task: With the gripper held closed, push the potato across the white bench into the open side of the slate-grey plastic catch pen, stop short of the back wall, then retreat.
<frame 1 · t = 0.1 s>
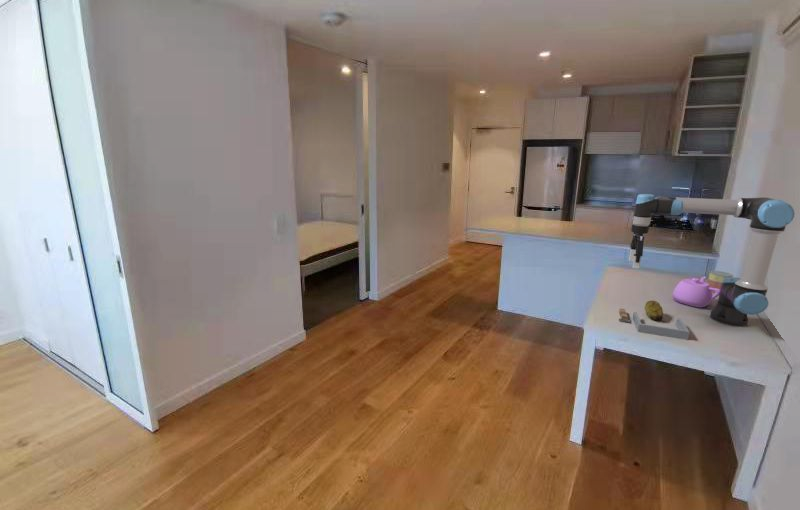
hand: (633, 264, 197), 28 cm above the table, fingers open, 13 cm apart
canned food: (716, 291, 239), on the table
teapot: (690, 303, 220), on the table
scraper: (623, 317, 199), on the table
catch pen: (658, 328, 187), on the table
potato: (652, 317, 200), on the table
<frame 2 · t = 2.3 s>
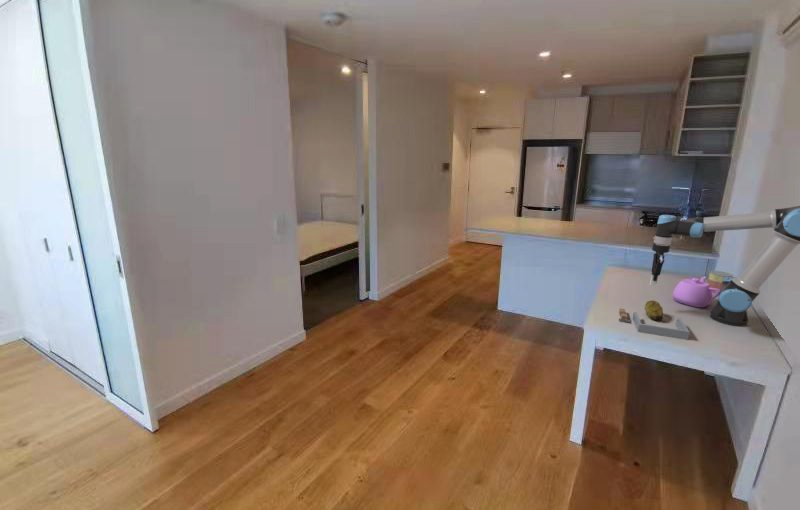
hand: (652, 285, 205), 14 cm above the table, fingers closed
nothing on the table moved.
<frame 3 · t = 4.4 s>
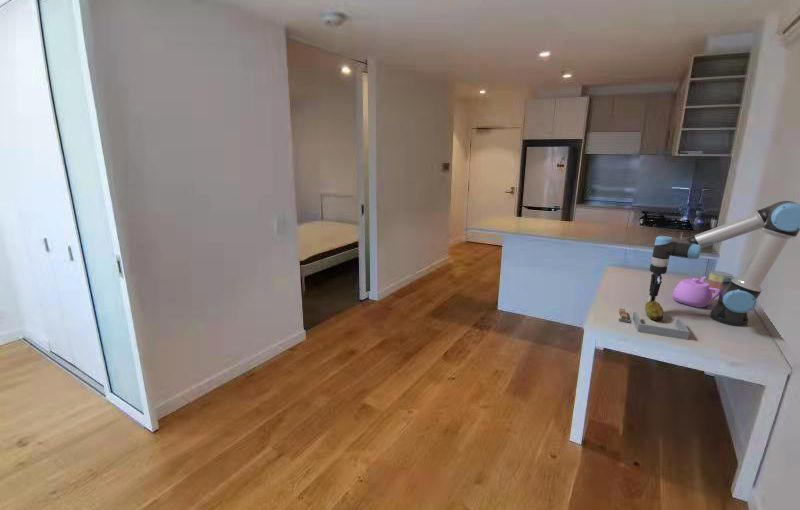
hand: (650, 306, 206), 3 cm above the table, fingers closed
potato: (652, 317, 199), on the table, touching gripper
everything else where it was.
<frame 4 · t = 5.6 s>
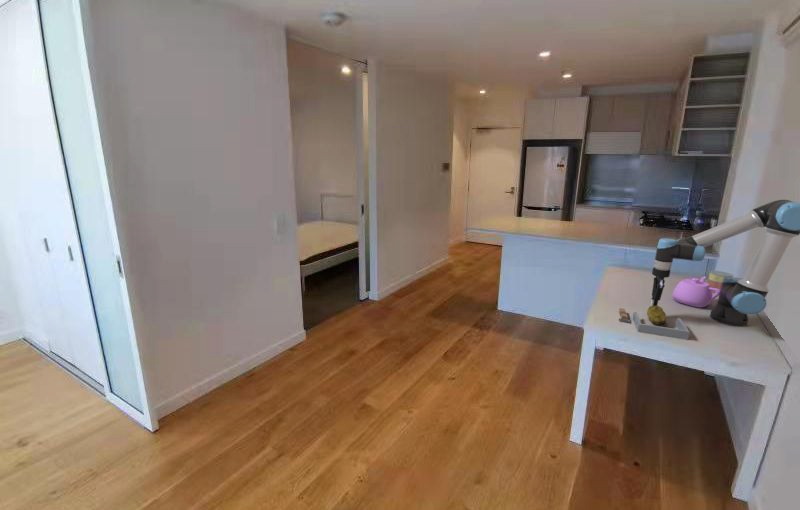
hand: (653, 310, 200), 4 cm above the table, fingers closed
potato: (655, 322, 194), on the table, touching gripper
everything else where it was.
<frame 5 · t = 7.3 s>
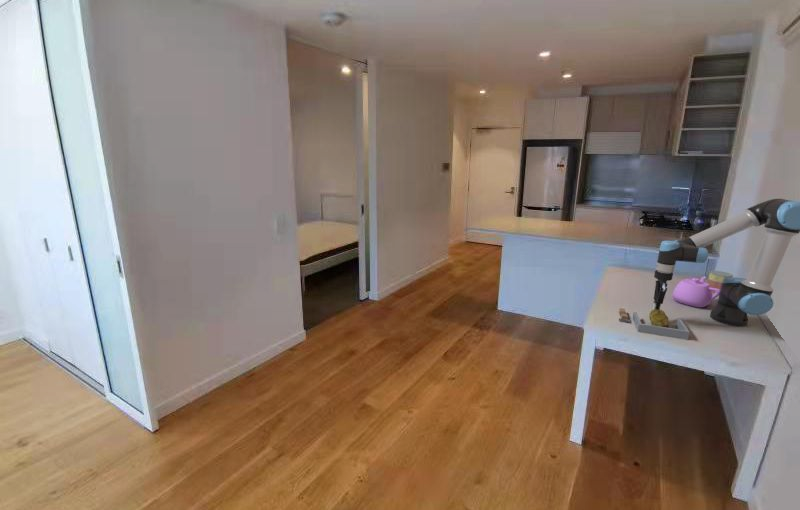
hand: (655, 314, 195), 4 cm above the table, fingers closed
potato: (657, 327, 189), on the table, touching gripper
everything else where it was.
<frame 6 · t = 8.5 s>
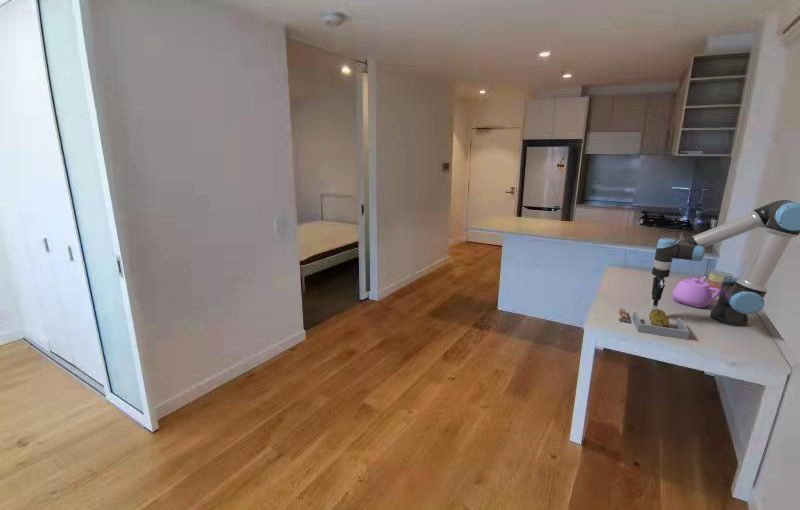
hand: (653, 310, 201), 3 cm above the table, fingers closed
potato: (657, 327, 189), on the table
everything else where it was.
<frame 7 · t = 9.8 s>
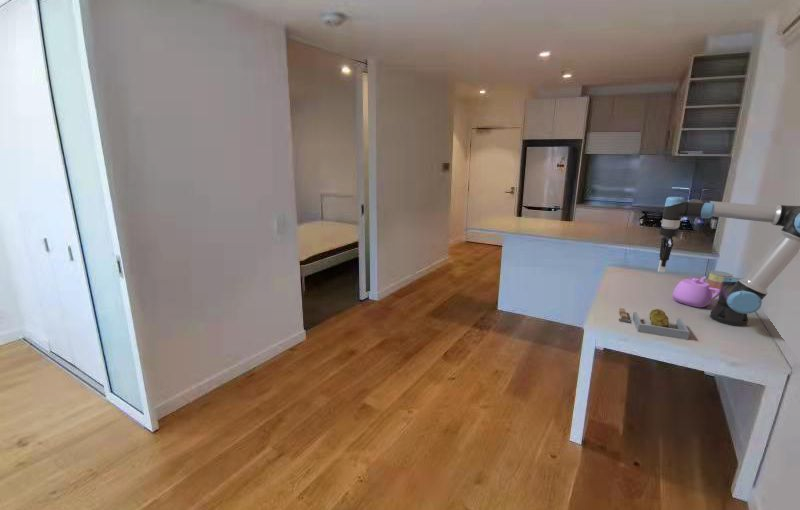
hand: (661, 271, 196), 24 cm above the table, fingers closed
nothing on the table moved.
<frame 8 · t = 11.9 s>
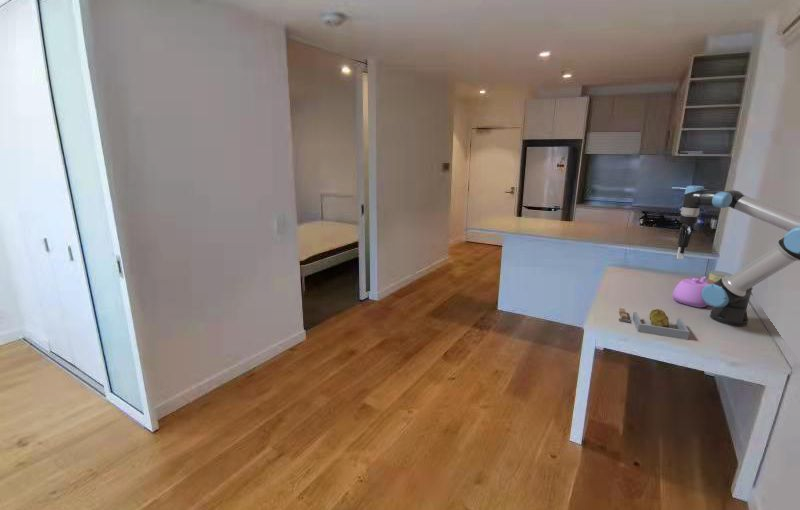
hand: (679, 258, 203), 29 cm above the table, fingers closed
nothing on the table moved.
at the end: potato inside the target area on the catch pen (2.0 cm from its centre), point 0.0 cm above the catch pen's base; potato moved 12.8 cm from its start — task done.
